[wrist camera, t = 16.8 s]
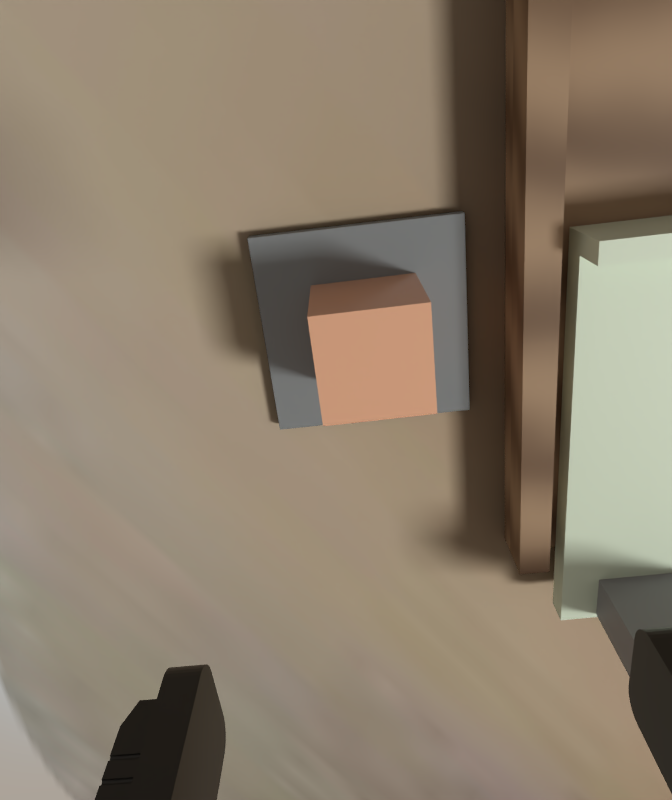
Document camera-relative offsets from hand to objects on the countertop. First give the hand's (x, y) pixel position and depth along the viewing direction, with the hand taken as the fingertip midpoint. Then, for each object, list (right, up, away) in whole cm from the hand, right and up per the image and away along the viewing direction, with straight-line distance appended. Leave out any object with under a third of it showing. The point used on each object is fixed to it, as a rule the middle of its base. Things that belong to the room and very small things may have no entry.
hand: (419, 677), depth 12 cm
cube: (0, +9, +19) cm, 21 cm away
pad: (0, +9, +19) cm, 21 cm away
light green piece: (+15, +4, +20) cm, 25 cm away
